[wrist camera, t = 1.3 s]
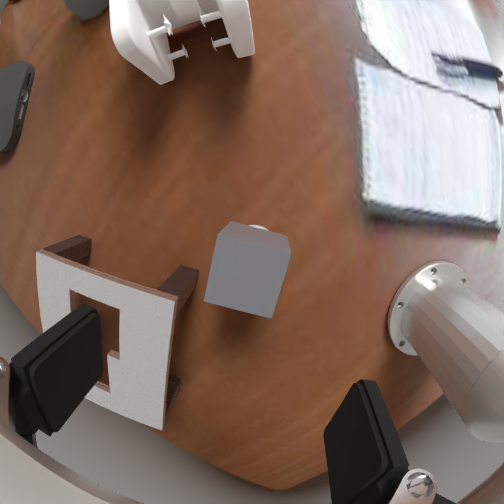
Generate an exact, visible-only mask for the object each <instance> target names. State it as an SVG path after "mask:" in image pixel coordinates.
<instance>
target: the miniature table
mask: <svg viewBox="0 0 504 504" xmlns="http://www.w3.org/2000/svg"><path fill="white" fill-rule="evenodd" d="M90 249H91V239H90V238H87V237H84V236H80V235H78V236H76V237H73V238H70V239H67V240H65V241H62V242H59V243H57V244H54V245H51V246H49V247H46V248H44V249H41V250H39V251H36V268H37V285H38V296H39V306H40V314H41V321H42V328H43V333H44V332H45V331H47V330H48V329H49V328H50V327H52V326H53V325H54V324H56V323H57V322H58V321H60V320H61V319H62V318H64V317H65V316H66V315H68V314H69V313H71V312H72V311H73V310H75V309H76V299H75V292H77V293H80V294H82V295H84V296H87V297H89V298H92V299H94V300H97V301H99V302H102V303H104V304H107V305H110V306H112V307H115V308H117V309H120V323H119V347H120V353H118V352H116V351H114V350H111V351H110V352H109V353H108V354H107V360H108V373H109V384H110V386H108V385H106V384H104V383H102V382H99V381H97V383H96V384H95V385H94V386H93V388H92V389H91V390H90V391H89V393H88V394H87V395H86V396H85V398H86V399H88V400H90V401H92V402H94V403H96V404H98V405H101V406H103V407H105V408H107V409H109V410H112V411H113V412H116V413H118V414H120V415H123V416H125V417H128V418H130V419H133V420H135V421H138V422H140V423H143V424H145V425H148V426H151V427H154V428H157V429H159V430H163V427H164V425H165V422H166V420H167V418H168V415H169V413H170V410H171V408H172V406H173V403H174V401H175V398H176V396H177V394H178V391H179V388H180V381H181V379H178V378H175V377H171V376H169V367H170V358H171V349H172V341H173V333H174V325H175V318H176V315H177V314H178V312H179V311H180V309H181V308H182V307H183V305H184V304H185V302H186V301H187V299H188V298H189V296H190V295H191V293H192V292H193V290H194V289H195V287H196V282H197V277H198V272H199V270H196V269H193V268H189V267H185V266H182V265H181V266H180V267H179V268H178V269H177V270H176V271H175V272H174V273H173V274H172V275H171V276H170V277H169V278H168V279H167V280H166V281H165V282H164V283H163V284H162V285H161V286H160V287H159V288H158V289H157V290H156V289H152V288H149V287H146V286H143V285H140V284H137V283H134V282H131V281H128V280H125V279H122V278H119V277H116V276H113V275H110V274H107V273H104V272H101V271H99V270H96V269H93V268H90V267H87V266H85V265H82V264H79V263H77V262H76V261H78V260H80V259H82V258H84V257H86V256H88V255H90Z"/></svg>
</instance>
